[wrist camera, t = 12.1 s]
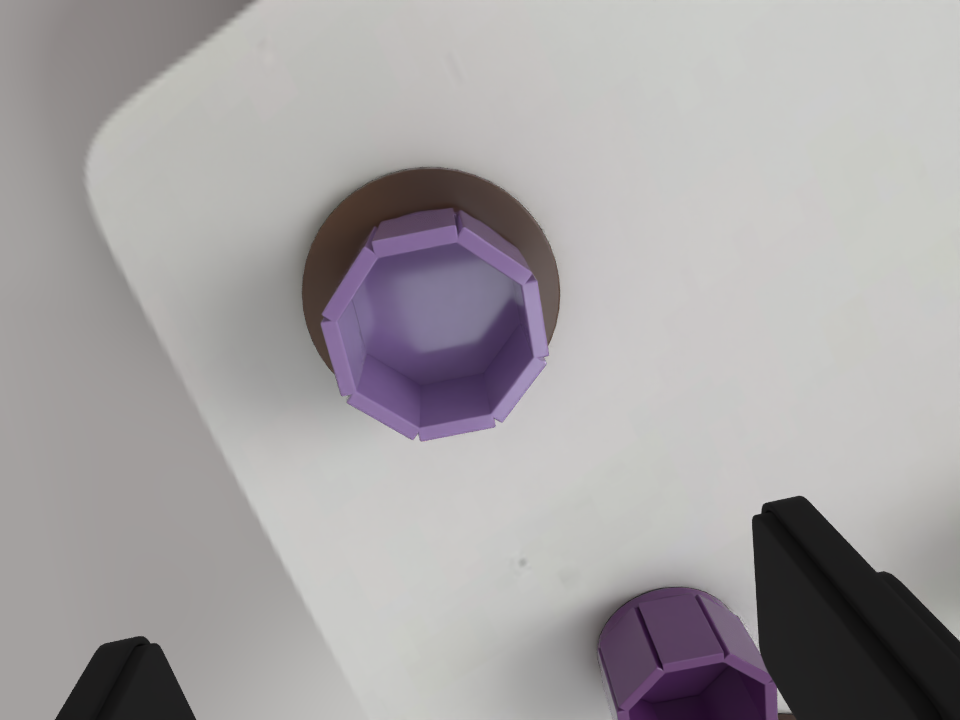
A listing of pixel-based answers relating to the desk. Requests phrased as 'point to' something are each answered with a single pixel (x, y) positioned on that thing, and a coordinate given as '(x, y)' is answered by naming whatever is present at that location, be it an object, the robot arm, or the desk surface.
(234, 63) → the desk surface
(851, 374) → the desk surface
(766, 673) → the dish plum
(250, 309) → the desk surface
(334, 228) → the coaster near
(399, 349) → the dish lilac
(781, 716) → the coaster far
